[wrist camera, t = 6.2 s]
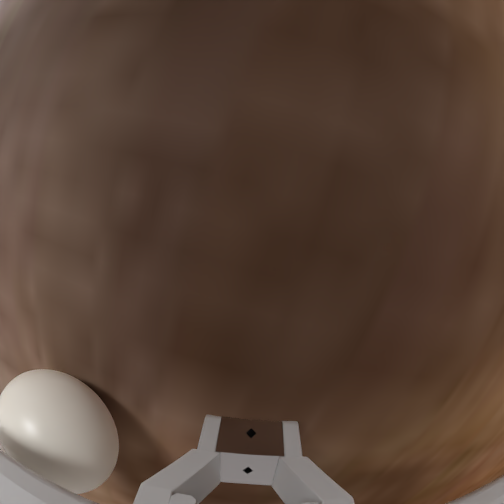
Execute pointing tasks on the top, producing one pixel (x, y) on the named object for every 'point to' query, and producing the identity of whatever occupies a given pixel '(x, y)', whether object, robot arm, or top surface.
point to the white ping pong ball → (58, 429)
